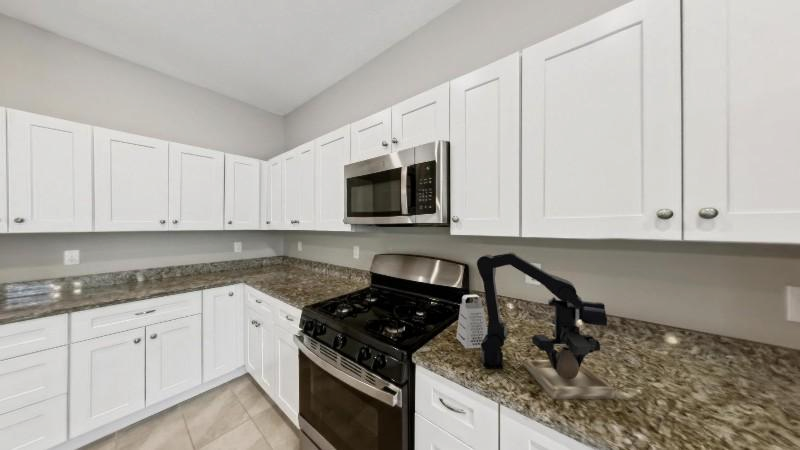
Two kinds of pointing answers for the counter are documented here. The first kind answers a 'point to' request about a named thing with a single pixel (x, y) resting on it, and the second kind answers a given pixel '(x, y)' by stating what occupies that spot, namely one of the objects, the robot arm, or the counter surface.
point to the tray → (569, 382)
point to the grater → (471, 322)
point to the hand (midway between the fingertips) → (565, 368)
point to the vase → (566, 364)
